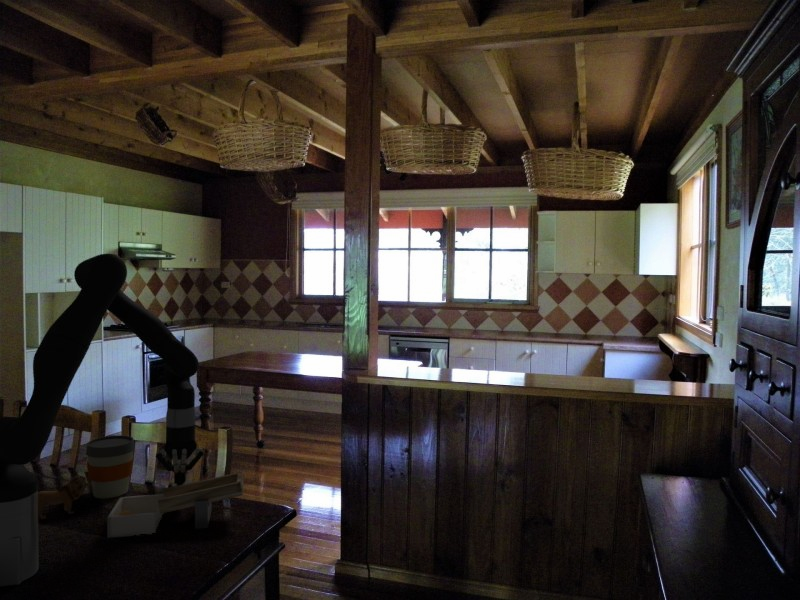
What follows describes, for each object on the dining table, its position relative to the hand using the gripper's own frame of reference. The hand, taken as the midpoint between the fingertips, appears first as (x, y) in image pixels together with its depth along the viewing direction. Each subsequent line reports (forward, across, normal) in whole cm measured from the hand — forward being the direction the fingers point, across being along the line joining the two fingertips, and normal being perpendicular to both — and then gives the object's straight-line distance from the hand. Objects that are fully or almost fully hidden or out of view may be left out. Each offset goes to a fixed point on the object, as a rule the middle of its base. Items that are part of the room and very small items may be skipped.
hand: (180, 484), depth 152 cm
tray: (+6, -9, -11) cm, 15 cm away
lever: (0, +7, -7) cm, 10 cm away
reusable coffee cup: (+6, -21, +13) cm, 25 cm away
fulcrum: (+5, +7, -11) cm, 14 cm away
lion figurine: (+6, -30, 0) cm, 31 cm away
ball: (+3, -11, -11) cm, 16 cm away
